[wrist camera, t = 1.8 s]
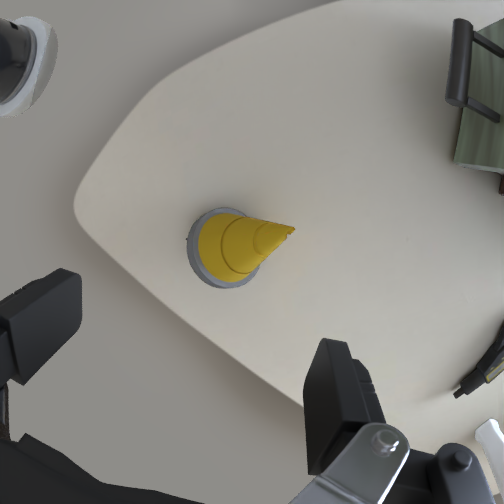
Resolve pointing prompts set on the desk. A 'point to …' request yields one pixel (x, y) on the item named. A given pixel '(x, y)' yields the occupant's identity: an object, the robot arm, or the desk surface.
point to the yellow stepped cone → (231, 246)
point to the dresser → (502, 187)
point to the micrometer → (485, 368)
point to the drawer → (478, 94)
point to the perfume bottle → (493, 449)
